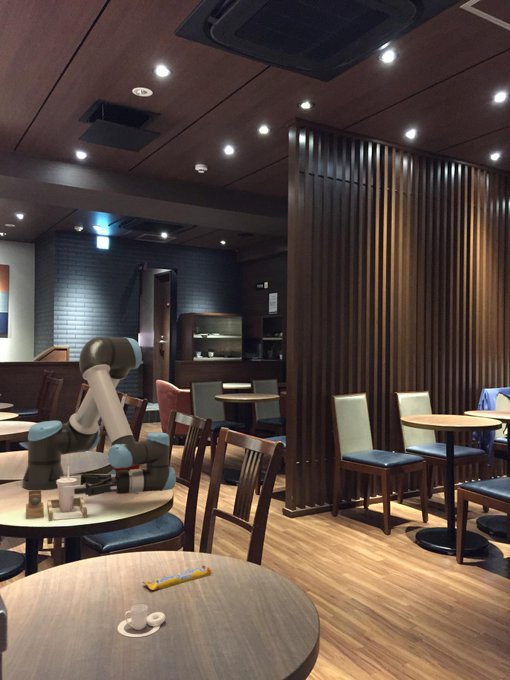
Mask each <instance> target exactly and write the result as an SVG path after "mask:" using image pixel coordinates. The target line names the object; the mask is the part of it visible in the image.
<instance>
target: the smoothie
mask: <svg viewBox="0 0 510 680" xmlns="http://www.w3.org/2000/svg"><path fill="white" fill-rule="evenodd" d="M67 476H68V478H62V479H58V480H57V481H56V484H57V486H58V488H57V495H58V499H59V505H60V507H59V512H60V513H69V512H71V511H72V512H73V508H74V506H73V501H74V498H75V495H70V496H63V487H66V486H77V485H76V483H77V479H75V478H69V476H70V466H67Z"/></svg>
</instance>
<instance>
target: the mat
mask: <svg viewBox="0 0 510 680" xmlns="http://www.w3.org/2000/svg"><path fill="white" fill-rule="evenodd" d="M73 519H74V520H75V519H83V515H82V511H72V512H71V511H69V512H59V513H53V521H62V520H65V521H66V520H73Z"/></svg>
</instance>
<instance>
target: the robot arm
mask: <svg viewBox="0 0 510 680" xmlns="http://www.w3.org/2000/svg"><path fill="white" fill-rule="evenodd" d="M142 358H143V355H142V349H141V346H140V344H139V343H138V341H137V340H136V339H134V338H131V337H126V336H123V337H113V336H111V337H106V336H96V337H93V338H92V339H90V340H88V341H87V342H86V343H85V344H84V346H83V347H82V349H81V351H80V353H79V359H78V361H79V362H78V363H79V365H78V366H79V370H80V373H81V375H82V378H83V379H84V380H85V381H87V384H88V387H89V388H88V390H87V392H86V395H85V396H84V398H83V399H82V402H81V404H80V407H79V408H78V409H77V412H76V413H73V414H72V415H70V417H69V419H68V420H67V422H66V423H62V422H61V420H49V421H47V420H46V421H45V420H44V421H40V422H36V423H35V424H32V425H31V426H30V427H29V429H28V435H27V440H28V441H27V442H28V447H27V450H28V451H27V452H28V453H27V467H26V470H25V473H24V475H23V478H22V483H21V484H22V485H21V486H22V488H24V489H25V490H30V491H34V490H41V491H42V490H43V491H45V490H52V489H58V486H57V484H56V481H57V480H58V479H62V478H68V475H67V476H65V475H66V474H65V473H64V470H63V467H62V456H63V455H70V454H77V453H85V452H87V451H91V450H93V449H94V448H96V447H97V446H98V444H99V442H100V438H101V436H100V435H101V429H100V425H99V420H100V418H101V421H102V424H103V426H104V429H105V431H106V435H107V437H108V439H109V442H110V445H111V446H110V447H109V448H108V450H107V455H108V458H107V460H108V462H109V465H110V466H111V467H112V468H114V469H115V468H128V467H131V466H136V465H140V466H141V465H145V466H146V468H139V469H134V470H129V472H128V471H127V470H120V471H117V472H115V476H112V474H110V473H109V474H99V473H98V474H97V473H96V474H95V473H82V474H81V475H71V476H70V475H69V478H75V479H77V483H76V486H66V487H63V496H70V495H74V496H81V495H86V496H88V497H92V496H97V495H98V496H99V495H102V494H105V493H106V494H107V493H112V492H116V494H118V495H121V494H130V493H131V494H133V493H135V495H139V493H144V492H145V493H146V492H147V493H148V492H163V491H169V490H172V489H174V488H175V486H176V481H177V477H176V471H175V469H174V467H172V466H171V467H170V465H169V464H170V446H171V445H170V436H169V434H168V433H165V432H159V431H157V432H156V431H155V432H150V433H148V434H147V435H146V440H139V441H136V439H135V437H134V434H133V431H132V429H131V427H130V423H129V422H128V419H127V416H126V414H125V411H124V409H123V405H122V402H121V400H120V398H119V396H118V392H117V389H116V388H117V386H118V385H119V383H120V380H124V379H126V378H127V376H128V374H129V372H130V371H131V370H133V371H134V370H135V369H138V368H139V367H140V365H141V363H142ZM128 492H130V493H128Z"/></svg>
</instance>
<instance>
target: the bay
mask: <svg viewBox="0 0 510 680" xmlns="http://www.w3.org/2000/svg"><path fill="white" fill-rule="evenodd" d="M73 507H79V508H80V512H81V513H82V516H83V518H84V519H87V518H88V507H87V505H86V503H85V500H84V497H81V496H80V497H74V501H73ZM54 508H60V505H59V498H58V499H56V498H55V499H47V507H46V509H47V514H48V515H47V516H48V521H49V522H53V521H54V519H53V514H54V512H53V509H54ZM83 518H82V519H83Z"/></svg>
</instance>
